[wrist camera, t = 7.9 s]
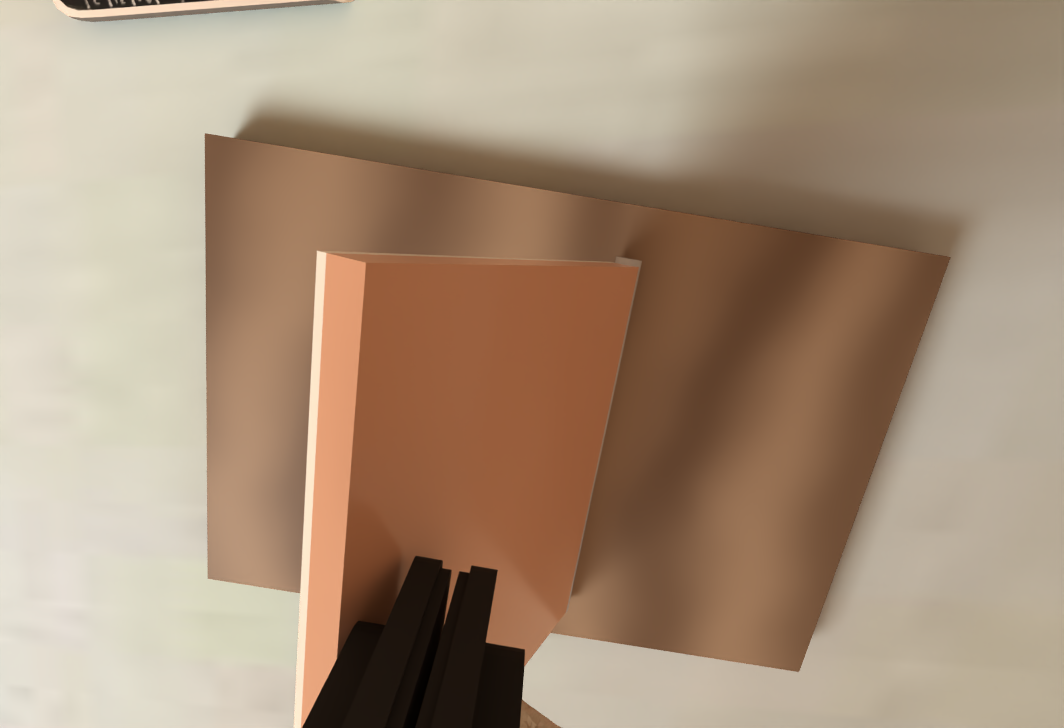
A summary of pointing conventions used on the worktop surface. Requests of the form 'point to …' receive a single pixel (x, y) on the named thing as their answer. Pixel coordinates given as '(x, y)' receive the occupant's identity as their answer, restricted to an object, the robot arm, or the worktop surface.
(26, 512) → the worktop surface
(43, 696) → the worktop surface
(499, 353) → the ceramic tile
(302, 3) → the cell phone
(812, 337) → the walnut board
